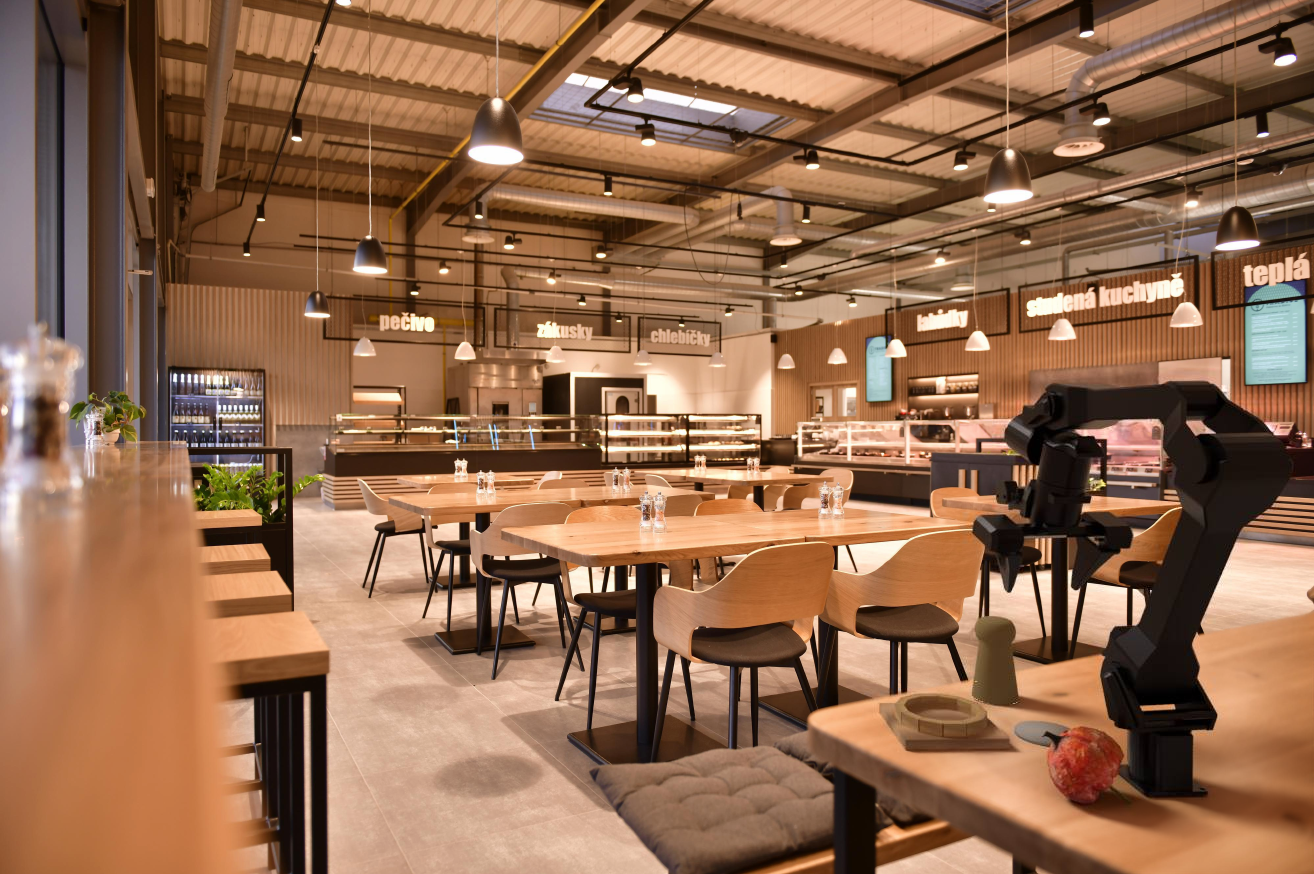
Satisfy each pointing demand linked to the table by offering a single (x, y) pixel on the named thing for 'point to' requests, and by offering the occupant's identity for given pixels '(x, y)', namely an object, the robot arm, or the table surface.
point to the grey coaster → (1038, 731)
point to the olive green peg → (995, 662)
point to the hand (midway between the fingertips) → (1040, 590)
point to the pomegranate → (1083, 763)
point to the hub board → (942, 742)
